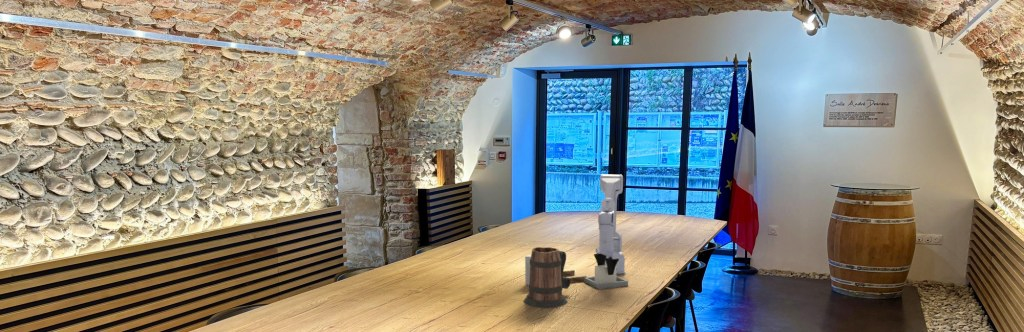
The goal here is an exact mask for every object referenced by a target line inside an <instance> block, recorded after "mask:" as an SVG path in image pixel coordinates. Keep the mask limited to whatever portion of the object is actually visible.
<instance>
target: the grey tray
mask: <svg viewBox="0 0 1024 332" xmlns="http://www.w3.org/2000/svg"><path fill="white" fill-rule="evenodd" d="M583 282H584V284H586V285H589V286H591V287H593V288H595V289H596V290H605V288H606V289H611V288H621V287H622V286H623V287H629V281H628V280H626V279H624V278H622V277H620V276H617V275H616V282H611V283H602V284H599V283H596V282H595V276H587V277H585V278H584V281H583Z"/></svg>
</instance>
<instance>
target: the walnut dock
mask: <svg viewBox="0 0 1024 332" xmlns="http://www.w3.org/2000/svg"><path fill="white" fill-rule="evenodd" d="M575 275H576V272H575V270H574V269H571V270H570V269H569V270H563V277H569V276H571V277H569V278H570V280H571V283H570V284H572V283H580V282H584V278H585V277H588V276H587V275H581V276H575ZM572 276H573V277H572Z"/></svg>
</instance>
